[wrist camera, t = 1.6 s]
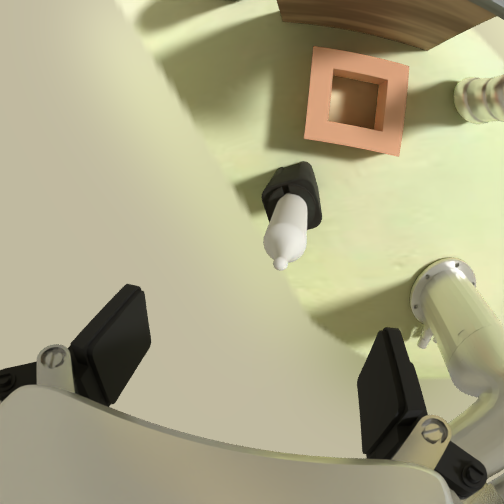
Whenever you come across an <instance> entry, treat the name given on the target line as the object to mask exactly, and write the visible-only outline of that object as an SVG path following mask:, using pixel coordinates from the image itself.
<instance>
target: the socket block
mask: <svg viewBox="0 0 504 504" xmlns="http://www.w3.org/2000/svg"><path fill="white" fill-rule="evenodd" d="M333 76H338V77H344V78H349V79H354V80H359V81H364V82H369V83H373V84H377V85H379V86H378V97H377V106H376V115H375V123H374V130H372V129H367V128H363V127H358V126H353V125H347V124H342V123H336V122H331V121H328V117H329V108H330V99H331V89H332V79H333ZM408 76H409V66H406V65H403V64H399V63H396V62H392V61H388V60H384V59H380V58H376V57H372V56H367V55H363V54H358V53H353V52H348V51H342V50H337V49H331V48H324V47H317V46H313V55H312V66H311V77H310V87H309V97H308V107H307V116H306V125H305V134H304V139H310V140H316V141H323V142H329V143H335V144H340V145H346V146H351V147H356V148H361V149H366V150H371V151H376V152H380V153H385V154H389V155H394V156H398V157H399V153H400V147H401V140H402V133H403V126H404V118H405V109H406V99H407V89H408Z"/></svg>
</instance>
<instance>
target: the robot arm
mask: <svg viewBox="0 0 504 504" xmlns="http://www.w3.org/2000/svg"><path fill="white" fill-rule="evenodd" d="M410 307H411V309H412V312H413V314H414V316H415V317H416V319H417V320H418V321H420V322H421V323H423V324H424V327H423V331H424V332H423V334H422V335H421V337H420V339H419V341H418V343H417V345H418V347H420V348H422V349H425V348H426V347H427V345H428V343H429V342H430V340H431V337H432V335H433V336H434V338H433V341H434V342H435V343H437V345H438V347H439V349H440V352H441V354H442V357H443V359H444V362H445V364H446V367H447V369H448V372H449V374H450V377H451V379H452V381H453V383H454V385H455V386H456V387H457V388H458V389H459V390H460V391H461V392H464V393H465V394H468V395H471V396H474V397H478V400H477V401H476V402H475V403H473V404H472V405H471V406H470V407H469V408H468V409H467V410H465V411H464V412H463V413H461V414H460V415H459V416H457V417H456V418H455V419H453V420H452V421H450V422H449V423H447V421H446V420H444V419H443V418H441V417H439V416H436V415H428V414H427V410H426V406H425V403H424V399H423V395H422V391H421V388H420V384H419V381H418V378H417V374H416V371H415V368H414V365H413V364H412V363H411V362H410V360H409V357H408V354H407V351H406V347H405V344H404V341H403V338H402V335H401V332H400V330H399V329H397V328H388V327H385V328H384V329H383V331H379V332H378V334H377V337H376V339H375V341H374V344H373V346H372V348H371V351H370V353H369V355H368V357H367V360H366V362H365V364H364V366H363V368H362V371H361V373H360V375H359V377H358V381H357V388H358V398H359V409H360V421H361V436H362V451H363V454H366V456H367V459H358V458H335V457H320V456H308V455H298V454H289V453H281V452H274V451H267V450H261V449H255V448H249V447H244V446H238V445H233V444H229V443H224V442H219V441H215V440H210V439H207V438H202V437H199V436H195V435H191V434H187V433H184V432H180V431H177V430H173V429H169V428H167V427H163V426H160V425H157V424H154V423H151V422H148V421H145V420H142V419H139V418H136V417H134V416H131V415H128V414H126V413H123V412H120V411H117V410H115V409H112V408H110V407H109V406H110V405H111V404H114V403H115V402H116V401H117V399H118V397H119V396H120V394H121V392H122V391H123V389H124V388H125V386H126V384H127V383H128V381H129V379H130V378H131V376H132V375H133V373H134V371H135V370H136V368H137V367H138V365H139V363H140V362H141V360H142V359H143V357H144V356H145V354H146V353H147V351H148V349H149V348H150V345H151V336H150V330H149V323H148V316H147V310H146V301H145V294H144V291H141V288H140V287H139V286H135V285H130V284H126V285H125V286H124V287H123V288H122V289H121V290H120V291H119V292H118V293H117V294H116V295H115V296H114V297H113V298H112V299H111V300H110V301H109V302H108V303H107V304H106V305H105V307H104V308H103V309H102V310H101V311H100V312H99V313H98V314H97V315H96V316H95V317H94V318H93V319H92V320H91V321H90V323H89V324H88V325H87V326H86V327H85V328H84V329H83V330H82V331H81V332H80V334H79V335H78V336H77V337H76V338H75V339H74V340H73V341H72V342H71V345H70V347H69V348H68V349H67V348H66V347H65V346H63V345H59V344H56V345H50V346H47V347H46V348H44V349H43V350H42V351H41V352H40V353H39V355H38V357H37V362H33V363H29V364H24V365H20V366H15V367H10V368H5V369H3V370H0V504H504V473H503V474H502V475H500V476H499V477H497V478H496V479H494V480H492V481H491V482H489V483H486V480H487V479H488V478H489V477H491V476H493V475H494V474H496V473H498V472H500V471H501V470H503V469H504V326H503V325H502V323H501V322H500V320H499V319H498V317H497V316H496V315H495V313H494V312H493V310H492V309H491V308H490V306H489V305H488V304H487V302H486V301H485V300H484V298H483V297H482V296H481V294H480V293H479V292H478V291H477V289H476V278H475V274H474V272H473V270H472V269H471V267H470V266H469V265H468V264H467V263H466V262H465V261H463V260H461V259H457V258H445V259H441V260H439V261H436V262H434V263H433V264H431V265H429V266H428V267H427V268H426V269H425V270H424V271H423V272H422V273H421V274H420V275H419V276H418V278H417V279H416V281H415V283H414V285H413V287H412V290H411V294H410Z"/></svg>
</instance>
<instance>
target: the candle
mask: <svg viewBox="0 0 504 504" xmlns="http://www.w3.org/2000/svg"><path fill="white" fill-rule="evenodd" d="M262 202H263V205H264V208H265V211H266V214H267V217H268V220H269V225H268V228H267V230H266V233H265V236H264V241H263V243H264V248H265V250H266V252H267V254H268V255H269V256H270V257H271V258H272V259H274V261H273V265H274V267H275V268H276V269H277V270H284V269H286V268H287V266H288V263H289V262H293V261H296V260H297V259H298V258H300V257H301V256H302V254H303V253H304V251H305V249H306V244H307V230H309V229H313V228H315V227H317V226H318V225H319V224H320V223H321V220H322V213H321V205H320V198H319V192H318V186H317V182H316V179H315V176H314V172H313V169H312V166H311V165H310V164H309V163H308V162H304V161H303V162H300V164H296V165H293V166H289V167H285V168H283V167H281V168H279V169H278V170H277V171H276V173H275V174H274V176H273V177H272V179H271V180H270V182H269V183H268V185H267V186H266V188H265V189H264V191H263V193H262Z"/></svg>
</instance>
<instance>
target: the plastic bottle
mask: <svg viewBox="0 0 504 504" xmlns="http://www.w3.org/2000/svg"><path fill="white" fill-rule="evenodd" d="M453 98H454V104H455V107H456V109H457V111H458V113H459V114H460V115H461V117H462V118H464V119H465V120H467V121H469V122H471V123H474V124H484V123H488V122H492V121H503V122H504V74H503V75H501V76H497V77H494V78H476V77H468V78H465V79H463V80H462V81H460V82H459V83H458V84H457V85H456V87H455V89H454V97H453Z"/></svg>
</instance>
